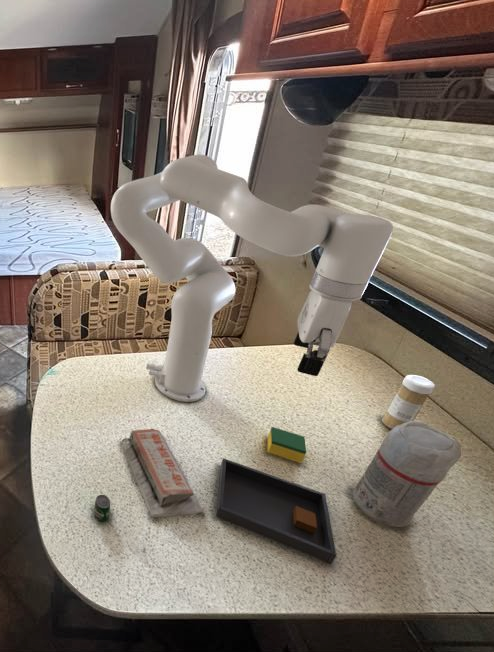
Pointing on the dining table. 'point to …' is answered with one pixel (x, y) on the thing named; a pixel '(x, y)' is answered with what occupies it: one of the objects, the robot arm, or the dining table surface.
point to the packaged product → (159, 475)
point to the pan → (274, 509)
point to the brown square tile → (304, 519)
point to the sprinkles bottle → (408, 400)
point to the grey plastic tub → (405, 472)
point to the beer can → (102, 508)
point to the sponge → (286, 444)
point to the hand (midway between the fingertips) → (304, 359)
